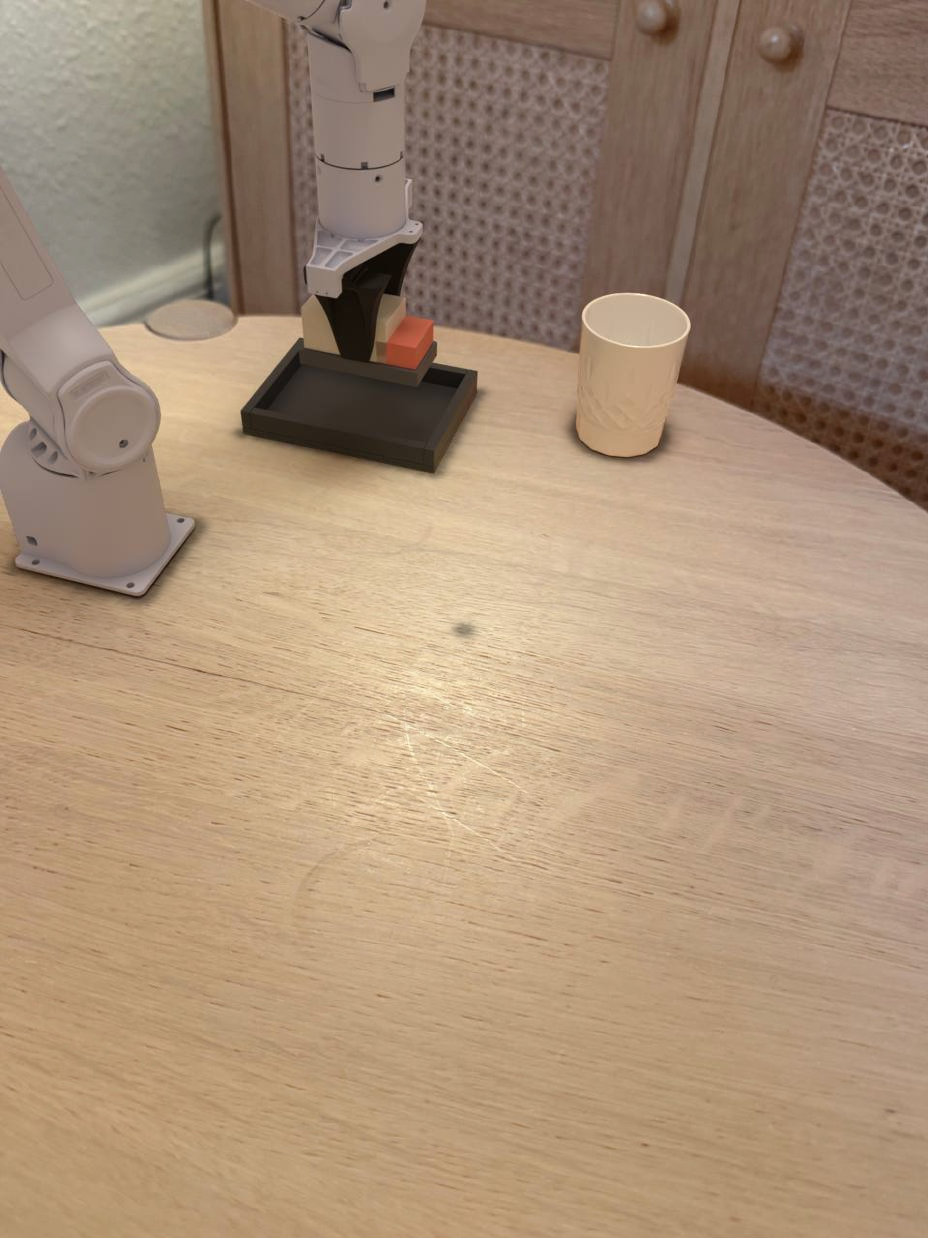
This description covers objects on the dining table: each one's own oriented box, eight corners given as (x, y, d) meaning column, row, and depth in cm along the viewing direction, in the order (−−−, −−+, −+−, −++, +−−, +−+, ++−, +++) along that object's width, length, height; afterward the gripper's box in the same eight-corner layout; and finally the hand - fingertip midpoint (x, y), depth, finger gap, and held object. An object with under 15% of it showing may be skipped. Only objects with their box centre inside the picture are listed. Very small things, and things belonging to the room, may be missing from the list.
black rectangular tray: (242, 433, 84) (239, 410, 83) (301, 358, 92) (299, 336, 91) (433, 473, 81) (434, 450, 80) (476, 392, 89) (478, 370, 88)
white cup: (684, 425, 87) (707, 312, 80) (641, 475, 82) (662, 358, 75) (597, 394, 90) (612, 282, 82) (550, 440, 85) (562, 325, 78)
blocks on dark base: (299, 363, 78) (294, 308, 75) (323, 333, 81) (320, 279, 78) (417, 387, 77) (417, 331, 74) (437, 355, 80) (437, 300, 77)
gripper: (379, 207, 63) (384, 406, 72) (454, 120, 73) (450, 305, 82) (267, 189, 64) (287, 386, 74) (356, 106, 74) (363, 289, 84)
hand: (367, 342), depth 78 cm, fingers closed on blocks on dark base, 4 cm apart
